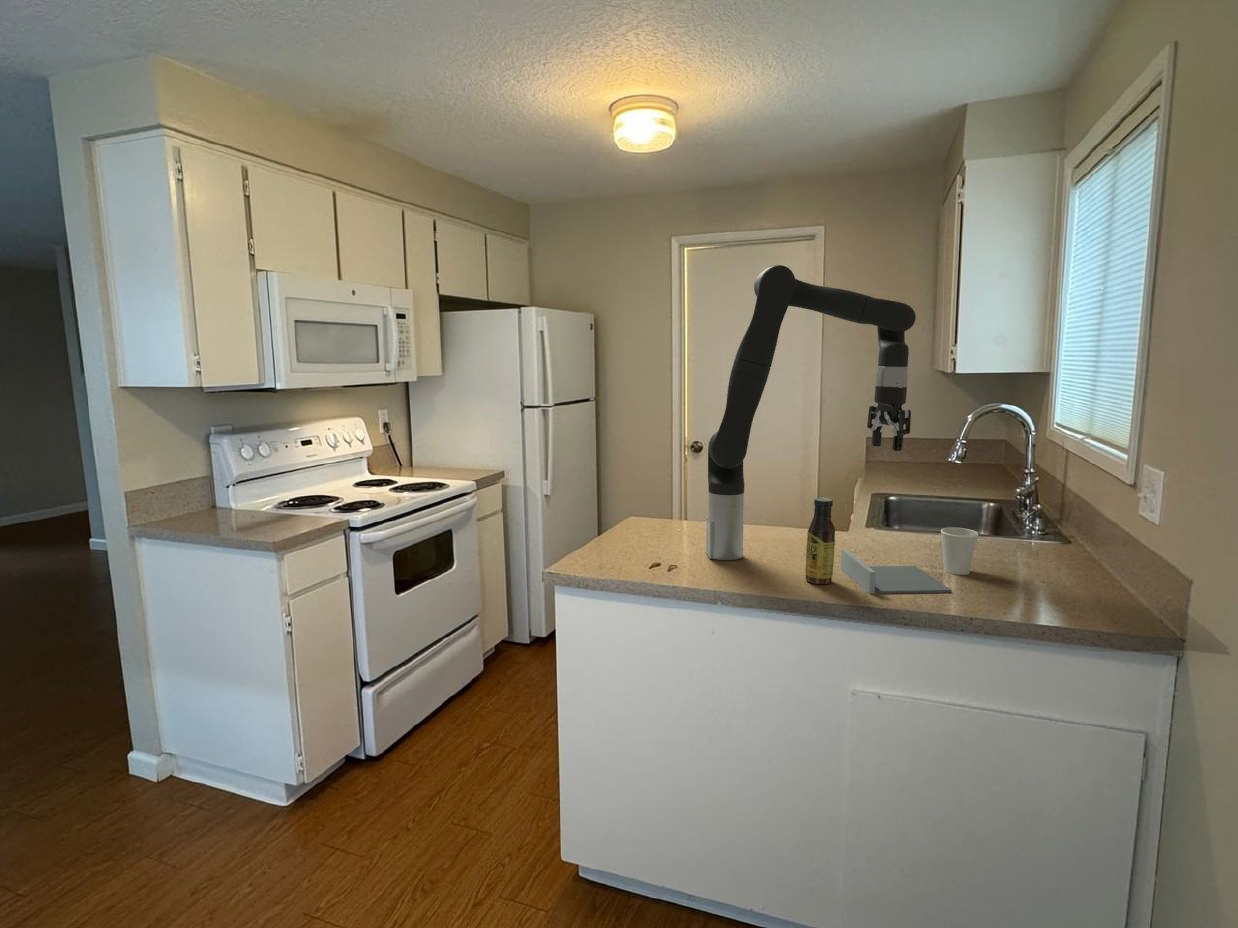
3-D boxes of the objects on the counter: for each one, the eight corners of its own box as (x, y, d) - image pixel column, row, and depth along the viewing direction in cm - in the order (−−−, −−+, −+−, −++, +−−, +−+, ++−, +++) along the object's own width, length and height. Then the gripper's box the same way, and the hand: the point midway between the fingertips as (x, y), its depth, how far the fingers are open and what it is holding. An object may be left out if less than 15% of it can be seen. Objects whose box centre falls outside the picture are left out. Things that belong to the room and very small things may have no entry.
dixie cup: (973, 567, 176) (976, 528, 174) (978, 578, 168) (981, 537, 166) (936, 564, 178) (939, 526, 177) (939, 574, 170) (942, 534, 169)
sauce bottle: (801, 577, 169) (804, 495, 166) (826, 576, 169) (830, 495, 166) (810, 586, 162) (814, 501, 159) (837, 585, 163) (841, 501, 160)
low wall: (869, 593, 157) (870, 572, 156) (840, 569, 175) (841, 549, 174) (874, 593, 157) (875, 572, 156) (845, 569, 175) (846, 549, 174)
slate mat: (880, 593, 157) (880, 591, 157) (851, 569, 175) (851, 566, 175) (951, 592, 158) (951, 589, 158) (914, 568, 176) (915, 565, 176)
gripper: (861, 383, 184) (857, 445, 187) (896, 386, 171) (891, 452, 173) (886, 383, 186) (882, 444, 189) (922, 386, 173) (917, 452, 175)
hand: (886, 448), depth 181 cm, fingers open, 8 cm apart
